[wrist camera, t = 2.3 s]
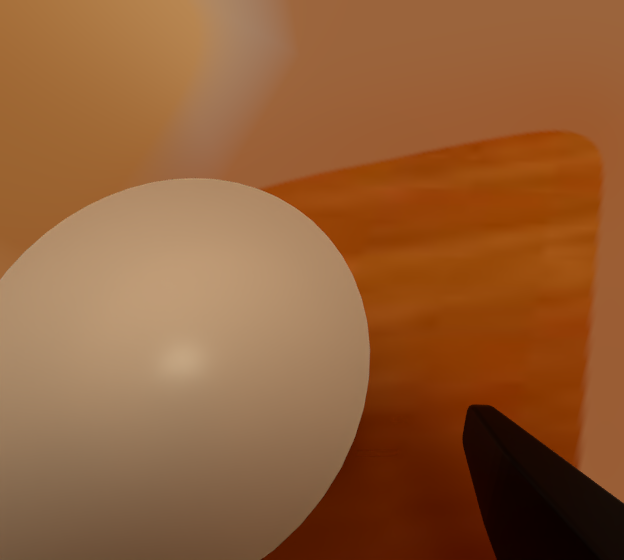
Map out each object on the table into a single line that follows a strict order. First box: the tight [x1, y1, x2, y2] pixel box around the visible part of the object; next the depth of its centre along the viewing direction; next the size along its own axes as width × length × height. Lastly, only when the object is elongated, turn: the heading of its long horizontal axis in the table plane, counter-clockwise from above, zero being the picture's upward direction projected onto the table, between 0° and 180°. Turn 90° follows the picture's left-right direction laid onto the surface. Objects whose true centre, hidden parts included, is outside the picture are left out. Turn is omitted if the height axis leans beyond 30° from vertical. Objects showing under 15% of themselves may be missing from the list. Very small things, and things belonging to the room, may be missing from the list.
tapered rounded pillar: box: [0, 178, 370, 560], centre depth 10 cm, size 4×4×13 cm
